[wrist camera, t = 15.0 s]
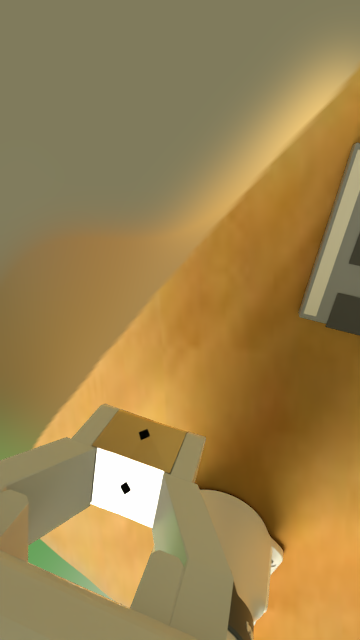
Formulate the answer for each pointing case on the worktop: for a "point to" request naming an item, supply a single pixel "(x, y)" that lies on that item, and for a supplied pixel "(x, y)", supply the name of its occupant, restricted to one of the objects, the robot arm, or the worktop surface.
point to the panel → (338, 259)
